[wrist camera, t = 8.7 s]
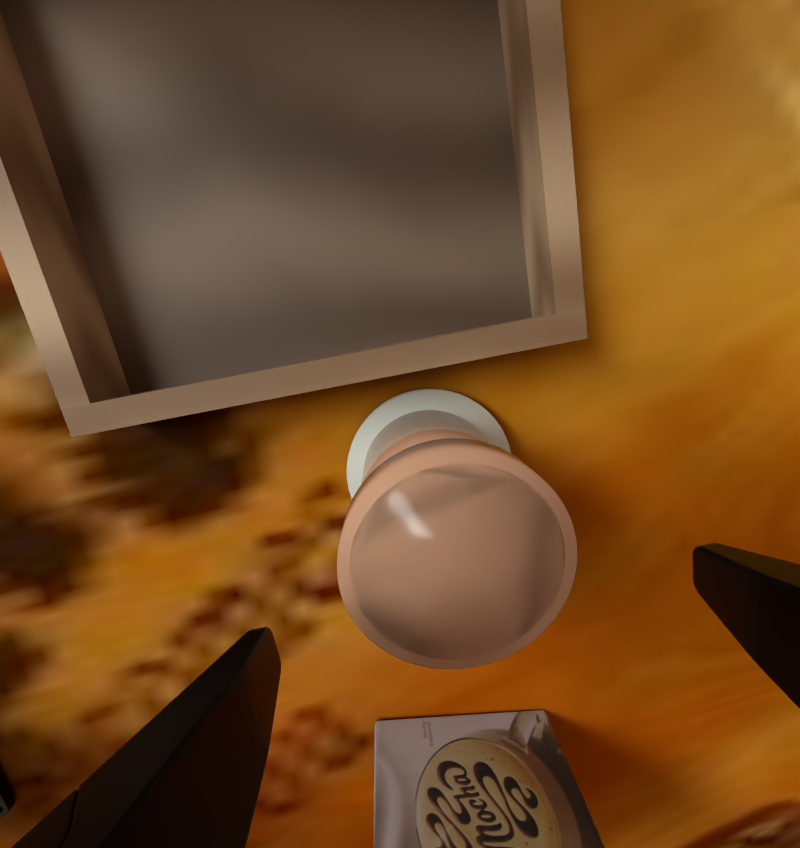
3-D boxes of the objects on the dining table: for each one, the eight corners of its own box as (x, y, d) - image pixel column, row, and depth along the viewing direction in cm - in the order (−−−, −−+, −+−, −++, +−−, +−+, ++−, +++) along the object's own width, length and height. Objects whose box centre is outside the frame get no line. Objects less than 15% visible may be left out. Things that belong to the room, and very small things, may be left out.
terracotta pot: (506, 524, 17) (587, 645, 10) (372, 549, 17) (364, 688, 10) (487, 389, 16) (565, 429, 9) (342, 417, 16) (311, 477, 9)
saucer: (515, 523, 18) (521, 531, 17) (366, 551, 18) (365, 561, 17) (495, 373, 17) (501, 375, 16) (332, 404, 17) (330, 407, 16)
